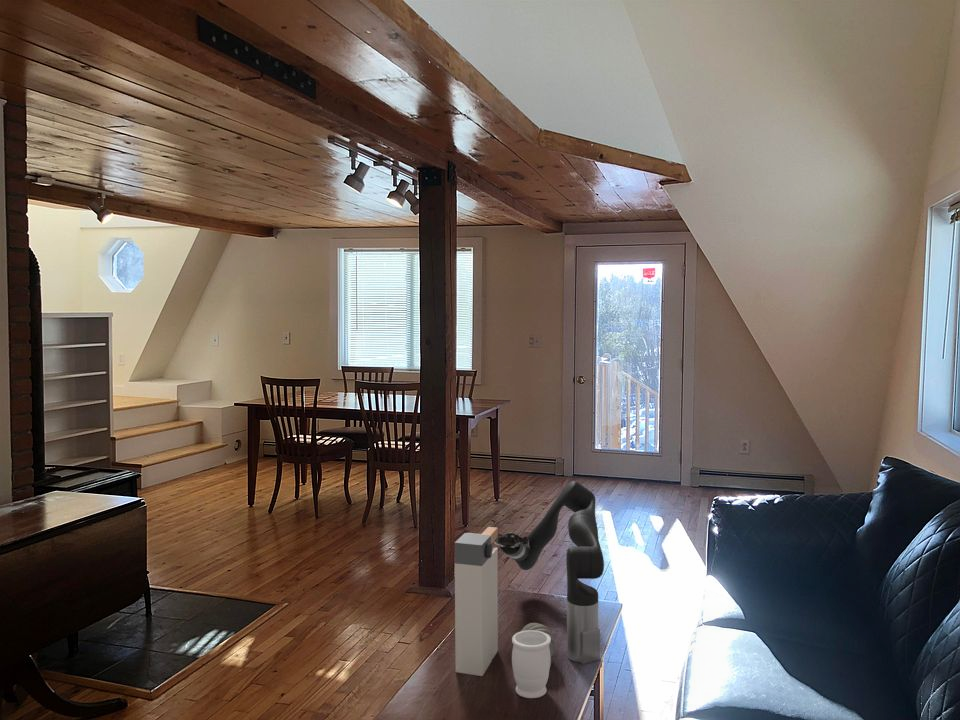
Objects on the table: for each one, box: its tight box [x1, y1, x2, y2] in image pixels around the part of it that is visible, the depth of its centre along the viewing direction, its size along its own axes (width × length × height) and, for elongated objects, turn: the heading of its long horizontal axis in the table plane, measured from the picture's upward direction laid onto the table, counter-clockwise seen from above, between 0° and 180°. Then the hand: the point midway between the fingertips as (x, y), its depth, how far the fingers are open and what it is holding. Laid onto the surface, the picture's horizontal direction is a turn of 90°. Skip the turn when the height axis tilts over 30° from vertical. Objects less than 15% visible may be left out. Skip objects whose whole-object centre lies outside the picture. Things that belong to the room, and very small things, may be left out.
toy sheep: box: [520, 622, 557, 668], centre depth 226 cm, size 11×17×11 cm, turn 24°
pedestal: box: [454, 532, 499, 677], centre depth 226 cm, size 16×9×38 cm, turn 163°
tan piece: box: [469, 526, 499, 545], centre depth 233 cm, size 16×8×5 cm, turn 163°
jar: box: [511, 630, 552, 699], centre depth 210 cm, size 11×10×15 cm
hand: (502, 535), depth 252 cm, fingers open, 8 cm apart
